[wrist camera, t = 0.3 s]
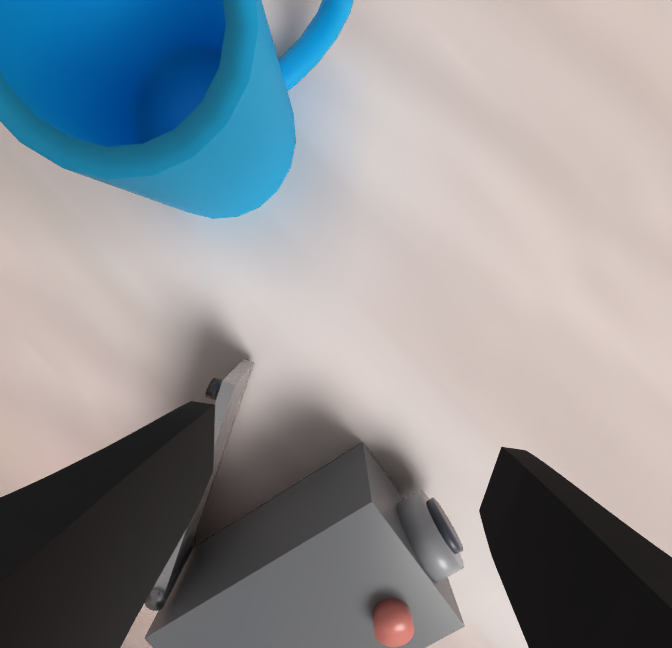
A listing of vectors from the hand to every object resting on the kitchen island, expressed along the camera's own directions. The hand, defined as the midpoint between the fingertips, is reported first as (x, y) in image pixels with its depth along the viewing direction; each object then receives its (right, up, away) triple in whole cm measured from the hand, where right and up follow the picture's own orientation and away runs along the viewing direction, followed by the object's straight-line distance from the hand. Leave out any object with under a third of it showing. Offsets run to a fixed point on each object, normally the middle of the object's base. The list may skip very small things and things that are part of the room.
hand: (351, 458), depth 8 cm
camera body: (-2, -10, +12) cm, 16 cm away
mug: (-5, +14, +8) cm, 17 cm away
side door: (-8, -4, +11) cm, 14 cm away
